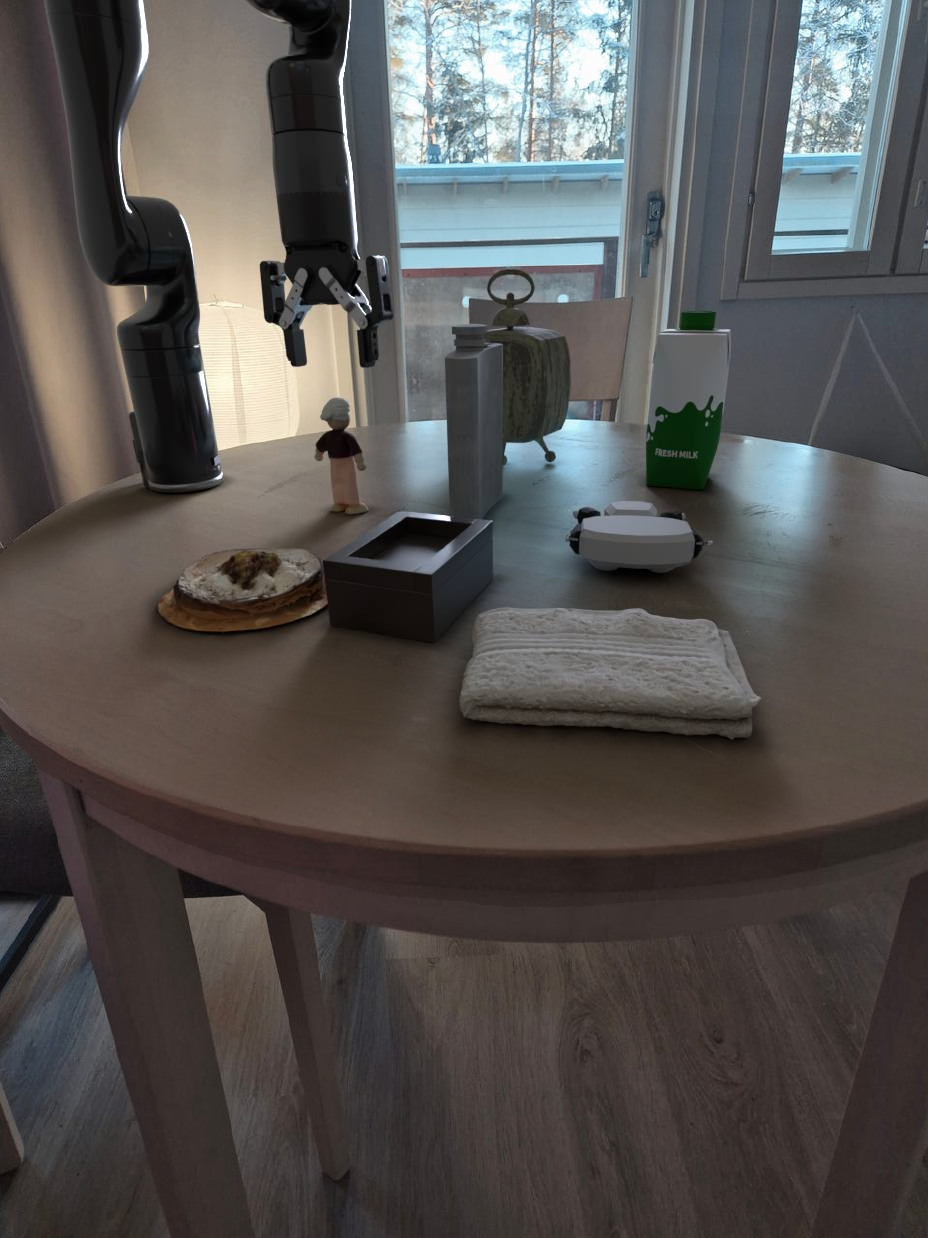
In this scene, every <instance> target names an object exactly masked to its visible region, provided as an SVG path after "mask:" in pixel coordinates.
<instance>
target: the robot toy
mask: <svg viewBox="0 0 928 1238" xmlns="http://www.w3.org/2000/svg"><path fill="white" fill-rule="evenodd" d="M572 516H573V518H574V519H575V520H577V524H575V526H574V527H573V528H572V530H570V531H569V535H565V542H566V543H569V545H568V546H569V547H570V549H572V551H573V553H574V554H575V555H578V556H579V557H580V559H581V561H583V562H587V563H589V564H590V565H592V566H593V567H594V568H596V569H597V570H601V571H605V572H610V571H616V570H618V569H619V568H626V569H647V570H648V571H650V572H652V573H653V572H654V573H657V574H662V573H668V572H671V571H673V570H674V569H676V568H679V567H682V566H686V565H689V564H690V563H691V561H692V559H697V557H698V556H699V555H700V554H701V552H702V551H703V547H707V546H711V547H713V545H714V544H713V542H714V541H713V540H707V539H703V537H702V536H701V534H700V533H699V532H698V531H697V529H696V528H695V527H693V526H690V525H689V523H688V521H685V519H686V517H687V516H686V514H685V513H683V512H682V511H680V510H679V509H674V508H670V509H666V510H664V511H662V512H661V513H660V514H659V516H658V509H656V507H655V506H654V505H653V503H651V502H646V501H637V500H636V501H635V500H634V501H633V500H618V501H612V502H610V503H609V504H608V505H607V506H606V507H604V511H603V515H602V513H601V511H600V510H597V509H595V508H593V507H590V506H585V507H581V508H579V509H578V510H577V509H576V510H573V512H572Z"/></svg>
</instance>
